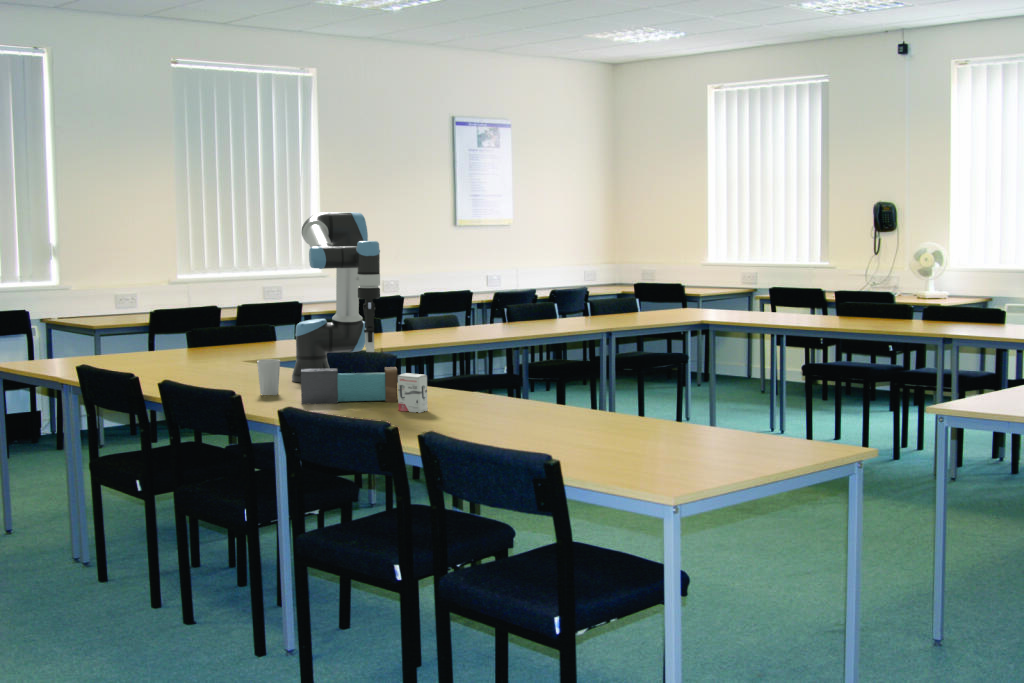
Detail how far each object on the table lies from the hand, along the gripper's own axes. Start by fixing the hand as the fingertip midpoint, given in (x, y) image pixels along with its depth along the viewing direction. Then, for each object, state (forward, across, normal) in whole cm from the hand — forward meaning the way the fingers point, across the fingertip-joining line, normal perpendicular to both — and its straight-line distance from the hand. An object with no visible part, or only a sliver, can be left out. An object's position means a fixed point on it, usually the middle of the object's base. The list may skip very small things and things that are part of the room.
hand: (369, 349), depth 369 cm
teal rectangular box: (+18, 0, -3) cm, 18 cm away
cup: (+18, -20, -35) cm, 44 cm away
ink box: (+18, +22, +13) cm, 31 cm away
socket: (+18, 0, +7) cm, 19 cm away
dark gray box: (+18, 0, -17) cm, 24 cm away
